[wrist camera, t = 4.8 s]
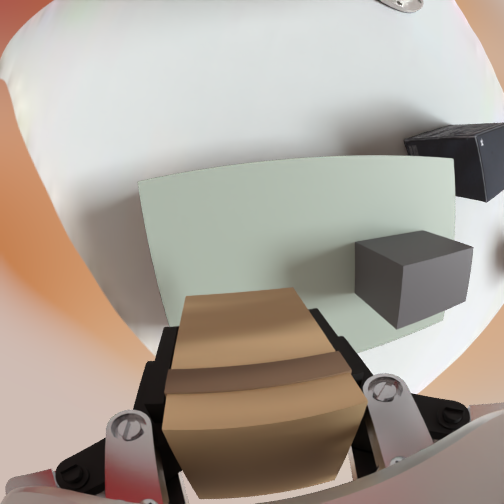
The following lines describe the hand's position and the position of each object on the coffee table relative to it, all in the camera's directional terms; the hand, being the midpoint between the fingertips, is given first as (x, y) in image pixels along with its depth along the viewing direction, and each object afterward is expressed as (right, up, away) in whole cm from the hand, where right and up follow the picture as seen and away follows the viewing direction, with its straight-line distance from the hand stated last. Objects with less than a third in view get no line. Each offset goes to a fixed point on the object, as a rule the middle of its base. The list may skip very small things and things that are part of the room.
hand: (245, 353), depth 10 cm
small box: (+23, +15, +16) cm, 32 cm away
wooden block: (0, 0, +1) cm, 1 cm away
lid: (+6, +3, +8) cm, 10 cm away
